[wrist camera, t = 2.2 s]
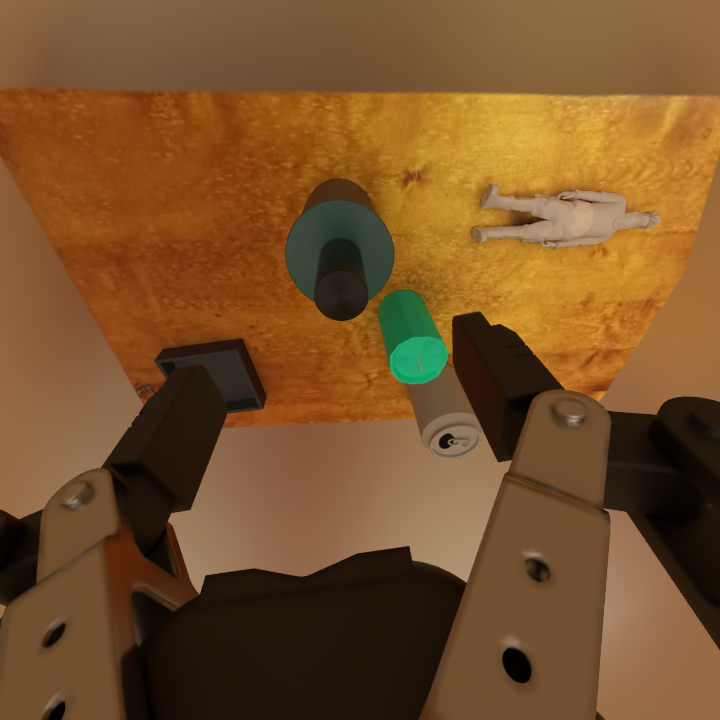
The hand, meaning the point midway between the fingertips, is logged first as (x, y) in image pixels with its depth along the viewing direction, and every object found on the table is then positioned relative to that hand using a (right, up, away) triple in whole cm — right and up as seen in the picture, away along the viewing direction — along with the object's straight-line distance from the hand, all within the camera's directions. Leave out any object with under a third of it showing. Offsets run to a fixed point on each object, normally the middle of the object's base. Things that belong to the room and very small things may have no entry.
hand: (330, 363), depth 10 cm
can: (+12, -3, +37) cm, 38 cm away
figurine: (+22, +16, +23) cm, 36 cm away
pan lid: (0, +7, +12) cm, 14 cm away
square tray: (-19, -2, +34) cm, 39 cm away
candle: (+6, +6, +29) cm, 31 cm away
